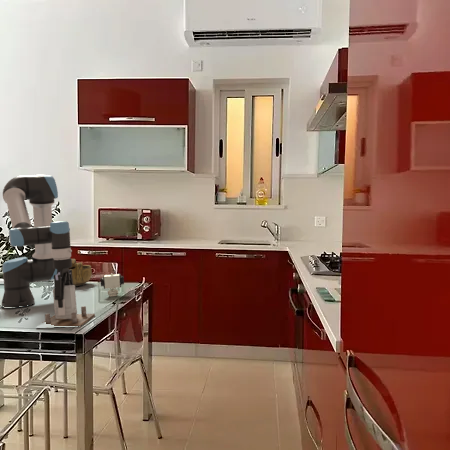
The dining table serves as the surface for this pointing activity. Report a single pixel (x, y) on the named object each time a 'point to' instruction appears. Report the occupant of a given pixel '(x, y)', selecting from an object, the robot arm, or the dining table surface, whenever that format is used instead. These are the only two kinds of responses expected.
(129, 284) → the dining table surface
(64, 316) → the supplement box
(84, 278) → the tan woven basket
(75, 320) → the stub plate
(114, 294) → the pneumatic valve
